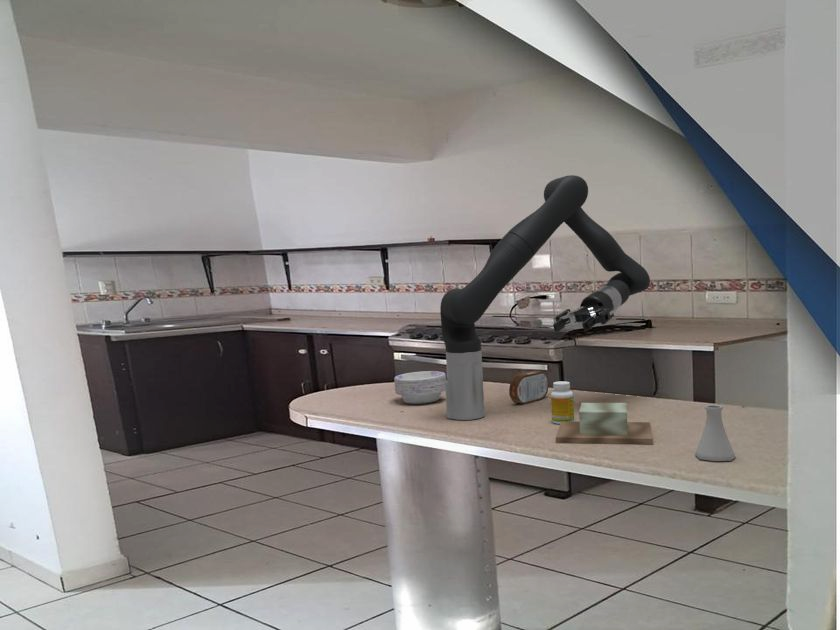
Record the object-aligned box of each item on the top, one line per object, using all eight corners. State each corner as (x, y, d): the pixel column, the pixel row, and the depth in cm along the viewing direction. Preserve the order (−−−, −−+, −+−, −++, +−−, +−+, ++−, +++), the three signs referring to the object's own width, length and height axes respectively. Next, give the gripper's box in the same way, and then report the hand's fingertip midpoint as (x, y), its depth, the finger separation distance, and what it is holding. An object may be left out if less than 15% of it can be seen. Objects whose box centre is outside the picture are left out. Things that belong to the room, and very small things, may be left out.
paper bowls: (387, 400, 210) (386, 374, 210) (433, 394, 217) (432, 368, 216) (408, 409, 197) (406, 380, 196) (456, 401, 203) (454, 374, 202)
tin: (542, 396, 204) (541, 367, 203) (551, 397, 202) (550, 368, 201) (508, 405, 194) (507, 375, 193) (517, 406, 191) (516, 376, 191)
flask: (736, 463, 130) (735, 410, 130) (694, 461, 133) (693, 409, 132) (734, 453, 137) (733, 402, 136) (695, 451, 140) (693, 402, 139)
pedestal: (555, 442, 152) (554, 414, 152) (561, 426, 166) (560, 400, 166) (653, 444, 146) (652, 415, 146) (650, 427, 161) (649, 400, 160)
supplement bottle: (574, 424, 167) (572, 384, 167) (551, 424, 169) (549, 384, 168) (574, 419, 173) (572, 380, 172) (552, 419, 174) (550, 380, 173)
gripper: (574, 292, 189) (542, 315, 179) (622, 288, 179) (590, 312, 168) (581, 318, 191) (549, 342, 180) (629, 315, 181) (598, 341, 170)
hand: (569, 327), depth 174 cm, fingers open, 8 cm apart
